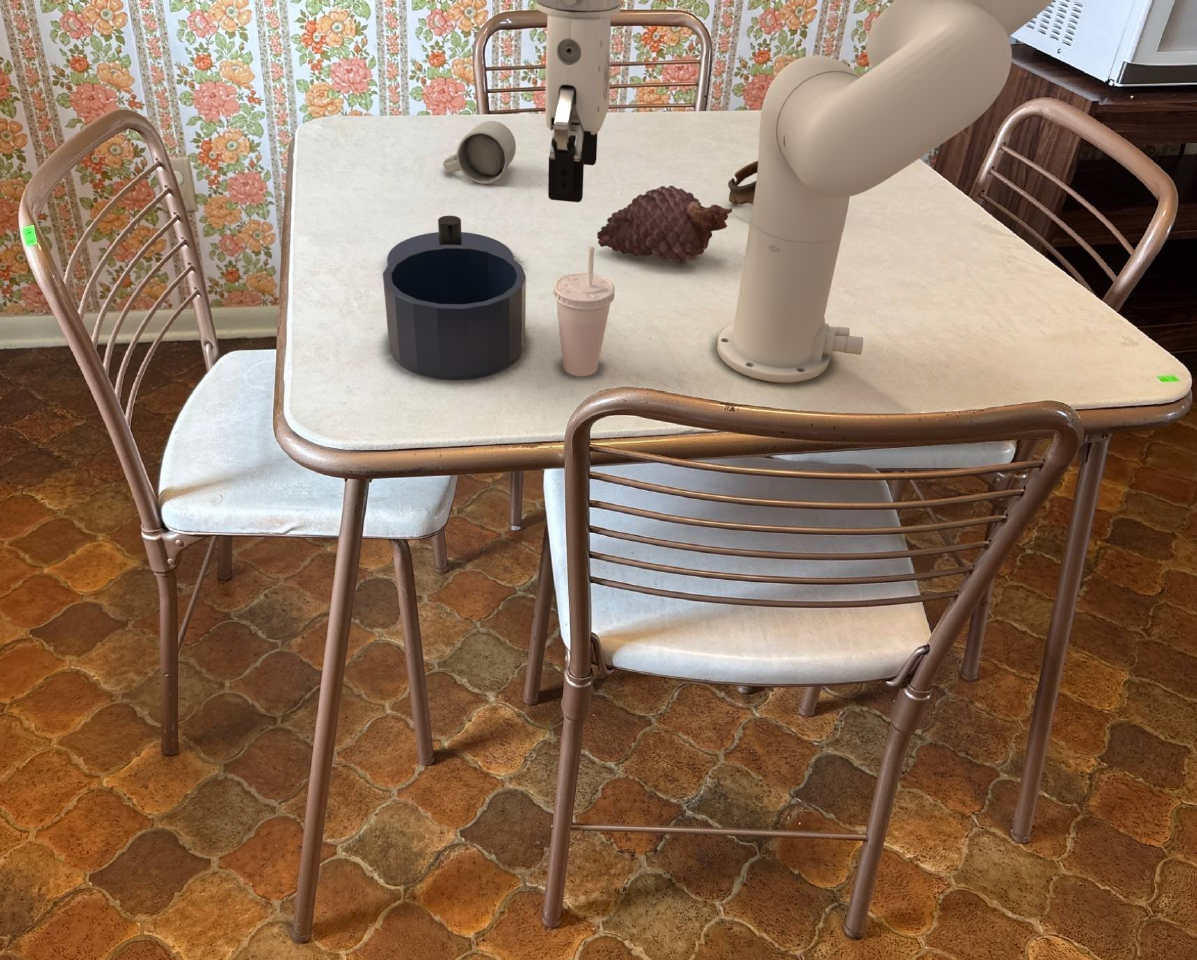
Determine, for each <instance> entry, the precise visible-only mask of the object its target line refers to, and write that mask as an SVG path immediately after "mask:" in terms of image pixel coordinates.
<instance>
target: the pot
mask: <svg viewBox="0 0 1197 960" xmlns="http://www.w3.org/2000/svg"><path fill="white" fill-rule="evenodd" d="M382 280H383V281H382V282H383V283H382V284H383V293H384V305H385V306H384V307H385V316H386V317H385V318H386V327H387V338H388V347H389V352H390V355H391V357H392V358H393V359H394V361H395V362H396V363H397V364H398V365H399V366H401V367H402V368H403V369H405V370H407V371H409V372H411V373H413V374H416V375H418V376H422V377H426V378H429V379H434V380H441V381H468V380H476V379H482V378H487V377H490V376H493V375H496V374H499V373H501V372H503V371H505V370H507V369H509V368H511V367H512V366H513V365H514V364H515V363H517V362H518V361H519V359H520V358H521V357H522V355H523V353H524V350H525V343H526V319H527V318H526V307H527V305H526V304H527V302H526V301H527V300H526V299H527V291H526V290H527V289H526V288H527V275H526V273H525V271H524V268H523V266H522V264H520V263H519V262H518V261H517V260H516V259H515V258H514V259H513V258H511V257H510V256H508V255H505V254H503V253H500V252H498V251H495V250H493V249H489V248H483V247H478V246H472V245H440V246H432V247H425V248H420V249H417V250H414V251H411V252H408V253H405V254H403V255H401V256H400V257H398V258H396V259H395V260H393V261H391V262H390V263H389V264H387V265H386V267H385V269H384V271H382Z"/></svg>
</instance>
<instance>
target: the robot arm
mask: <svg viewBox="0 0 1197 960" xmlns="http://www.w3.org/2000/svg"><path fill="white" fill-rule="evenodd" d="M1054 2H1055V0H894V1H893V2H892V3H890V5H888V6H887V7H886V8H885V9H884V10H883V11H882V12H881V13H880V14H879V15H878V16H877V18H875V20H874V22H873V24H872V25H871V27H870V30H869V32H868V35H867V39H866V55H867V60H868V63H869V65H870V68H871V69H870V70H869V71H867V72H866V73H864V74H863V75H861V76H859V75H858V74H857V73H856V72H855V71H854V69H852V68H851V67H850V66H849V65H847V64H845V63H844V62H843V61H841V60H839V59H836V58H834V57H831V56H827V55H822V54H821V55H820V54H813V55H812V54H811V55H807V56H803V57H800V58H797V59H795V60H794V61H791V62H790V63H788V64H787V65H785V67H783V68H782V69H781V70H780V71H779V72H778V73H777V74H776V76H775V77H774V78H773V80H772V81H771V83H770V85H769V87H768V88H767V91H766V93H765V96H764V99H763V103H762V107H761V112H760V121H759V132H758V157H757V161H758V170H757V173H756V180H755V181H756V188H755V195H754V202H753V205H752V210H751V214H750V215H751V216H750V221H749V227H748V235H747V241H746V247H745V254H744V259H743V264H742V265H743V266H742V272H741V278H740V283H739V284H740V286H739V292H738V297H737V305H736V313H735V318H734V322H733V323H731V324H729V325H727V326H726V327H725V328H722V330H721V332H720V333H719V334H718V338H717V342H716V343H717V344H716V350H717V354H718V355H719V357H720V359H721V360H722V361H723V362H724V363H725V364H726V365H727V366H729V367H730V368H731V369H733V370H734V371H737V372H738V373H740V374H741V375H744V376H747V377H750V378H752V379H757V380H760V381H764V382H769V383H785V384H787V383H798V382H804V381H807V380H811V379H814V378H816V377H818V376H820V375H821V374H822V373H823V372H825V371H826V369H827V368H828V366H829V362H830V359H831V355H832V353H833V352H838V353H843V354H849V355H859V356H860V355H862V352H863V347H864V338H863V337H862V336H854V335H853V336H852V335H850V327H846V326H831V325H829V323H826V319H825V316H826V311H827V306H828V302H829V297H830V293H831V287H832V282H833V279H834V274H835V270H836V269H835V268H836V265H837V259H838V256H839V252H840V251H839V250H840V247H841V241H842V237H843V236H842V235H843V233H844V229H845V225H846V221H847V216H848V211H849V203H850V197H853V196H857V195H860V194H862V193H865V192H867V191H869V190H872V189H873V188H875V187H877V186H879V185H880V184H882V183H884V182H886V181H887V180H888V179H890V178H892V177H893V176H895V175H896V174H898V173H899V172H901V171H903V170H904V169H905V168H907V167H909V166H910V165H912V164H913V163H915V162H916V161H918V160H919V159H921V158H923V157H924V156H927V154H929V153H930V152H932V151H933V150H935V149H936V148H938V147H940V146H941V145H942V144H944V143H946V142H947V141H949V140H950V139H952V138H953V137H955V136H956V135H958V134H959V133H960V132H962V131H964V130H965V129H966V128H968V127H970V126H971V125H972V124H973V123H974V122H976V121H977V120H978V119H979V118H981V116H983V115H984V114H985V113H986V112H987V111H988V110H989V108H990V107H991V106H992V105H993V104H994V103H995V101H996V100H997V98H998V97H999V95H1000V94H1001V93H1002V90H1003V89H1004V87H1005V85H1006V83H1007V80H1008V78H1009V75H1010V72H1011V67H1012V57H1013V54H1012V53H1013V51H1012V45H1011V42H1010V38H1009V37H1011V36H1013V34H1014V33H1016V32H1017V31H1019V30H1020V29H1021V28H1023V27H1024V26H1025V25H1026V24H1028V23H1029V22H1031V21H1032V20H1034V19H1035V18H1037V16H1039V14H1040V13H1042V12H1044V11H1045V10H1046V9H1048V7H1049V6H1050V5H1051V4H1052V3H1054ZM621 5H622V0H535V9H536V10H537V11H538V12H541V13H543V14H546V15H547V16H546V17H547V19H546V20H547V22H546V38H545V41H546V42H545V43H546V47H545V82H544V83H545V88H544V89H545V91H544V92H545V94H544V98H545V101H544V102H545V103H544V105H545V106H544V107H545V125H546V127H547V128H548V129H549V130H550V131H551V140H550V147H549V156H548V177H547V179H548V180H547V181H548V187H547V189H548V190H547V196H548V197H547V198H548V199H549V200H551V201H559V202H560V201H561V202H570V203H580V202H582V200H583V199H584V198H583V197H584V196H583V195H584V170H585V169H584V168H585V166H594V165H596V163H597V157H598V156H597V154H598V134H599V132H600V130H601V129H602V127H603V123H604V121H605V119H606V116H607V114H608V110H609V107H610V88H611V87H610V86H611V85H610V83H611V81H610V80H611V17H613V16H615V15H618V14H620V12H621Z"/></svg>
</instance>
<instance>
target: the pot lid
mask: <svg viewBox="0 0 1197 960" xmlns="http://www.w3.org/2000/svg"><path fill="white" fill-rule="evenodd" d="M437 229H438V230H437V231H436V232H428V233H423V234H419V235H415V236H412V237H409V238H406V239H404V240H403V241H400V242H398V243H397V244H396V245H394V246H393V247H392V248H391V249H390V251H389V252H388V254H387V258H386V264H387V265H388V264H389V263H390V262H391V261H393V260H395V259H396V258H398V257H400V256H401V255H403V254H405V253H408V252H411V251H414V250H417V249H420V248H425V247H432V246H440V245H472V246H478V247H483V248H489V249H493V250H495V251H498V252H500V253H503V254H505V255H508V256H510V257H511V258H513V259H514V260H515V256H514V253H513V252H512V250H511V248H509V247H508V246H507V245H506V244H504V242H503V243H502V242H501V241H499V240H497V239H496V238H495V239H494V238H493V237H489V236H486V235H484V234H483V235H482V234H478V233H474V232H466V231H462V219H461V218H460V217H459V216H456V215H443V216H440V217H439V218H438V219H437Z"/></svg>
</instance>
